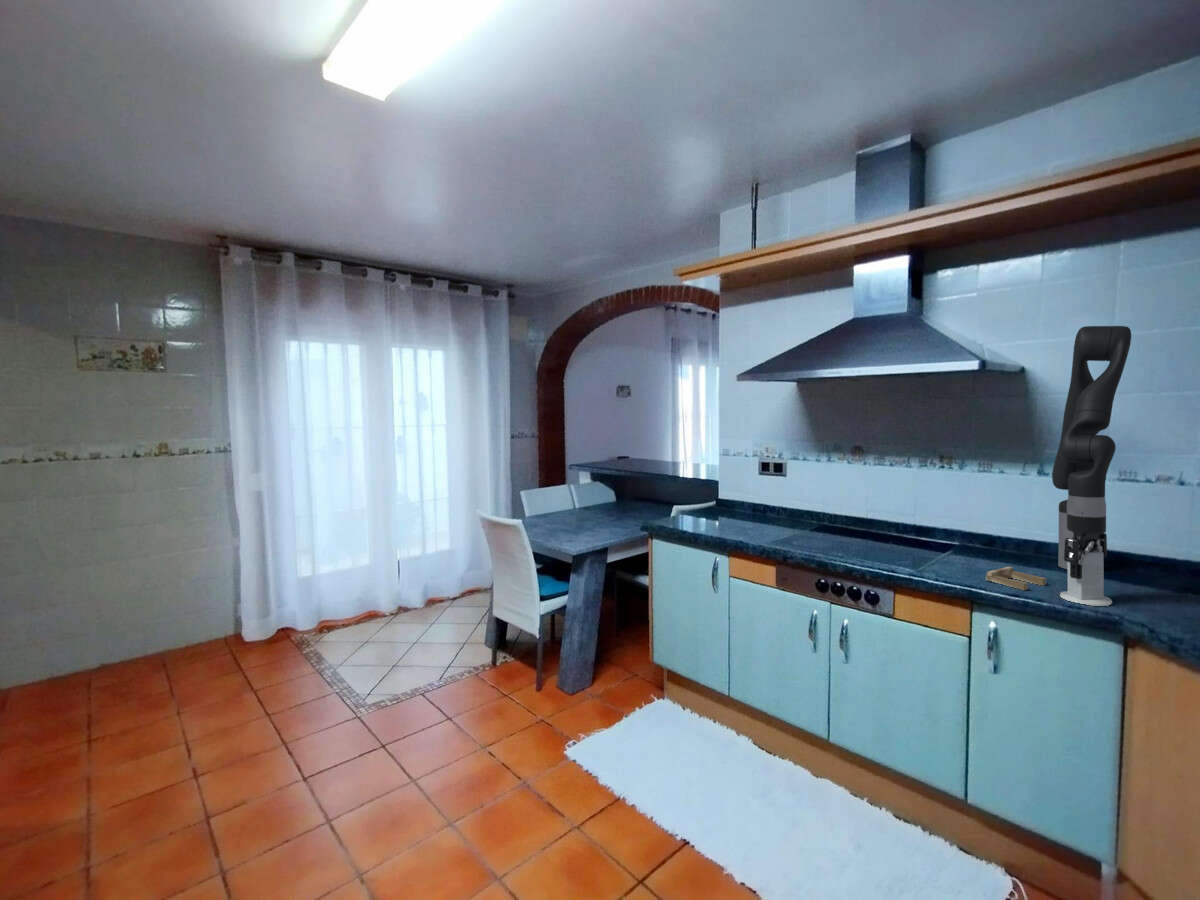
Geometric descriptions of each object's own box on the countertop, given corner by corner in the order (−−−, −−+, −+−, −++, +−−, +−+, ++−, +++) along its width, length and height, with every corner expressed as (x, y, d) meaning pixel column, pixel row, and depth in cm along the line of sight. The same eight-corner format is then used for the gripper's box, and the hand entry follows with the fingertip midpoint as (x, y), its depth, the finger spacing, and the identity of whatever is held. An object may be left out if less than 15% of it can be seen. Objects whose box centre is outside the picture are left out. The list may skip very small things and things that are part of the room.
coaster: (1073, 591, 148) (1073, 588, 148) (1120, 602, 138) (1120, 599, 138) (1051, 597, 144) (1051, 594, 144) (1098, 609, 134) (1098, 606, 134)
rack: (1007, 576, 163) (1007, 566, 163) (1046, 585, 154) (1046, 574, 153) (986, 581, 159) (985, 571, 159) (1024, 591, 150) (1024, 580, 149)
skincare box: (1088, 593, 143) (1089, 548, 143) (1104, 599, 139) (1104, 552, 138) (1066, 594, 143) (1066, 549, 142) (1081, 600, 139) (1081, 553, 138)
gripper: (1088, 518, 133) (1087, 584, 134) (1120, 512, 139) (1119, 575, 140) (1052, 514, 140) (1052, 576, 141) (1084, 508, 146) (1083, 568, 147)
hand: (1085, 575), depth 141 cm, fingers open, 8 cm apart
